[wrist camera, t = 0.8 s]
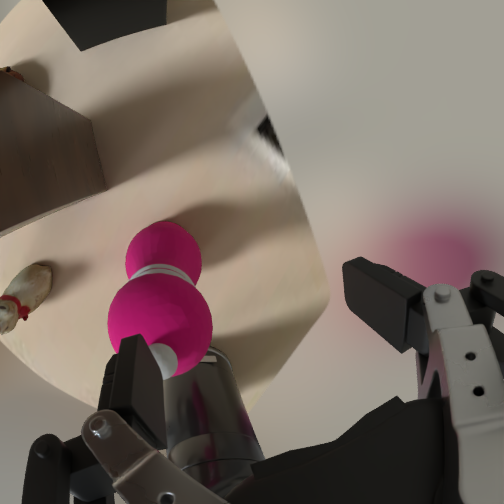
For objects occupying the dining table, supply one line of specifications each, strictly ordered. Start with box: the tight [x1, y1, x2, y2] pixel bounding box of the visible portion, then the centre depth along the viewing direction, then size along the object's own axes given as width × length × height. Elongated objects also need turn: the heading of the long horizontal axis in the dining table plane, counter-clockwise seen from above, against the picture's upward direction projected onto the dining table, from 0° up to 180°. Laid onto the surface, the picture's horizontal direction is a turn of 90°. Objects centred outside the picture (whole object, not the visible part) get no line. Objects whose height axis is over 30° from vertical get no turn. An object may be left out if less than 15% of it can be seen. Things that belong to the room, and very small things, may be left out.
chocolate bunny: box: [0, 264, 52, 335], centre depth 21 cm, size 6×8×10 cm
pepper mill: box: [108, 221, 213, 380], centre depth 20 cm, size 7×7×20 cm
